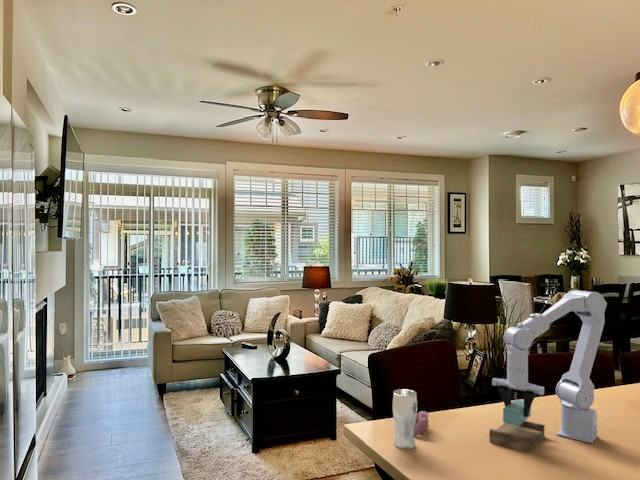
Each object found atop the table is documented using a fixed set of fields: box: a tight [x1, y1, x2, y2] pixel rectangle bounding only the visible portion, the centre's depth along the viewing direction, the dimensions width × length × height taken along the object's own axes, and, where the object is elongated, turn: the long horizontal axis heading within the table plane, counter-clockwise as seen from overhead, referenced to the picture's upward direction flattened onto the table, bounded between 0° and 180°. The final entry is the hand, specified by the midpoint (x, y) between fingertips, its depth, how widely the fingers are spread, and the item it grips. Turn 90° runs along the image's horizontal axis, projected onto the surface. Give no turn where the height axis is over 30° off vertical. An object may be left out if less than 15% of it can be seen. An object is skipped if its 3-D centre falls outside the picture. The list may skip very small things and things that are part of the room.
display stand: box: [489, 420, 546, 453], centre depth 140 cm, size 11×15×4 cm
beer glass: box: [392, 388, 418, 450], centre depth 135 cm, size 7×7×15 cm
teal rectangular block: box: [502, 399, 532, 426], centre depth 140 cm, size 4×11×4 cm, turn 140°
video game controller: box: [414, 410, 430, 437], centre depth 146 cm, size 10×5×7 cm, turn 169°
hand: (517, 414), depth 140 cm, fingers closed on teal rectangular block, 4 cm apart
